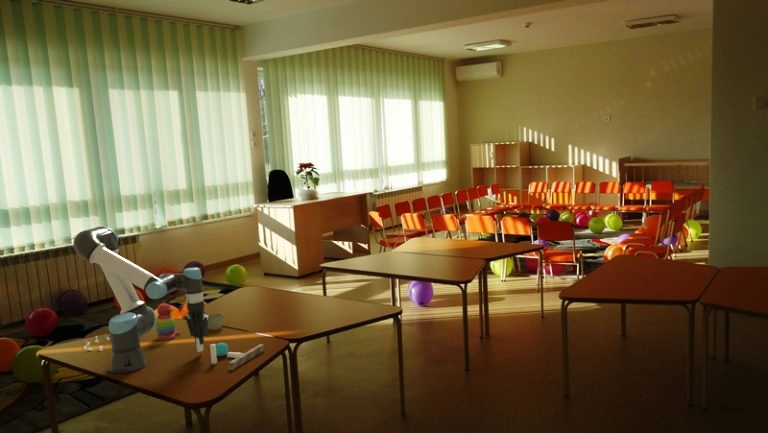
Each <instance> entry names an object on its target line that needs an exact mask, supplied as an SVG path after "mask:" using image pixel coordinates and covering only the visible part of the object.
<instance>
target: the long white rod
mask: <svg viewBox="0 0 768 433" xmlns="http://www.w3.org/2000/svg"><path fill="white" fill-rule="evenodd" d="M263 352H265V345H264V344H261V343H260V344H258V345H256V346H255V347H253V348H251V349H250V350H248V351H246V352H243V353H244V354H243V355H241V356H239V357H238V358H233V360H231V361H229V362H228V363H227V364H228V370H230V371H233V370H235V369H237V368H239V367H240V366H242V365H243V364H245V363H246V362H249V360H252V359H253V358H255V357H257V356H258V355H259V354H261V353H263Z"/></svg>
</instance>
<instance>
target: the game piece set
mask: <svg viewBox="0 0 768 433" xmlns="http://www.w3.org/2000/svg"><path fill="white" fill-rule="evenodd" d="M104 336H105V337H106V340H107V341H109V340H110V336H107V335H106V334H105V335H104ZM95 338H96V339H95V340H94V342H95V343H100V340H99V339H98V336H97V335H95ZM84 342H85V343H86V345H84V346H83V348H82V349H83V350H84V349H85V350H88V351H89V352H91V351H93V347H90V345H91V342H90V341H87V340H85V341H84ZM103 347H104V346H103V345H100V346H99V347H98V349H99V352H101V351H103Z"/></svg>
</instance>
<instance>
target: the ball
mask: <svg viewBox="0 0 768 433" xmlns="http://www.w3.org/2000/svg"><path fill="white" fill-rule="evenodd" d="M215 345H216V355H217V356H219V357H223V356H225V355H226V356H227V353H228V352H229V346H228V344H227V343H225V342H219V343H217V344H215Z"/></svg>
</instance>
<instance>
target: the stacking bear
mask: <svg viewBox="0 0 768 433" xmlns="http://www.w3.org/2000/svg"><path fill="white" fill-rule="evenodd" d="M156 311H157V314H158V315H157V316H156V318H157V319H156V323H155V329H156V332H157V340H161V341H172V340H174V339H176V337H177V336H179V335H180V334H181V333H180V331H179V330H176V321H175V319H174V316H173V314H172V312H173V306H171V305H170V304H169V303H166V302H163V303H161V304H159V305H158V306H157V308H156Z"/></svg>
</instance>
